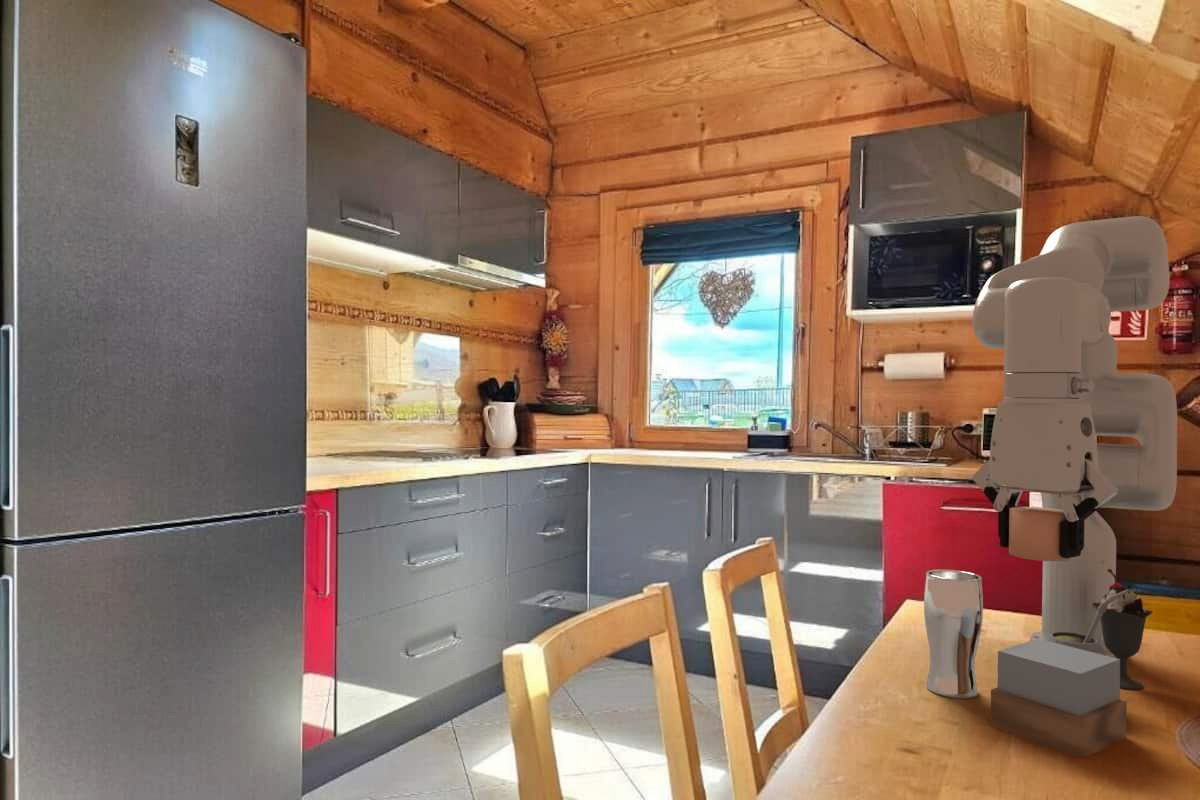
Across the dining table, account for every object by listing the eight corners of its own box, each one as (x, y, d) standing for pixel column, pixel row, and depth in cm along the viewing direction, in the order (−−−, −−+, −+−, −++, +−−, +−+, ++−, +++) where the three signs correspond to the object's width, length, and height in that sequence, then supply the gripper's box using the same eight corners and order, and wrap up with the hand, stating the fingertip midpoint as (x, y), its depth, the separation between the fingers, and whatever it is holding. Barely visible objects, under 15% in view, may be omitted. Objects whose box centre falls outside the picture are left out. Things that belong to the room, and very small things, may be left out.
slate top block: (1038, 675, 96) (1038, 638, 96) (1119, 699, 89) (1120, 659, 89) (997, 689, 91) (998, 650, 91) (1080, 716, 84) (1080, 673, 84)
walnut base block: (1035, 710, 97) (1035, 674, 97) (1125, 740, 88) (1126, 700, 88) (990, 728, 91) (990, 689, 91) (1082, 762, 83) (1083, 719, 83)
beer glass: (988, 702, 98) (990, 582, 98) (928, 697, 100) (930, 578, 100) (973, 683, 105) (975, 570, 105) (918, 678, 106) (919, 567, 106)
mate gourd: (1029, 690, 103) (1031, 575, 103) (1089, 691, 103) (1090, 576, 103) (1064, 713, 95) (1066, 589, 95) (1128, 713, 95) (1130, 589, 95)
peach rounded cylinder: (1026, 548, 92) (1027, 505, 92) (1080, 557, 87) (1081, 512, 87) (998, 553, 89) (998, 509, 89) (1052, 563, 84) (1053, 516, 84)
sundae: (1095, 671, 111) (1096, 564, 111) (1153, 682, 106) (1155, 571, 106) (1087, 683, 106) (1089, 571, 106) (1148, 696, 101) (1150, 579, 101)
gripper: (1143, 390, 83) (1141, 561, 83) (987, 390, 97) (985, 536, 97) (1108, 390, 79) (1106, 570, 79) (950, 389, 93) (948, 541, 93)
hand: (1039, 549), depth 88 cm, fingers closed on peach rounded cylinder, 6 cm apart
